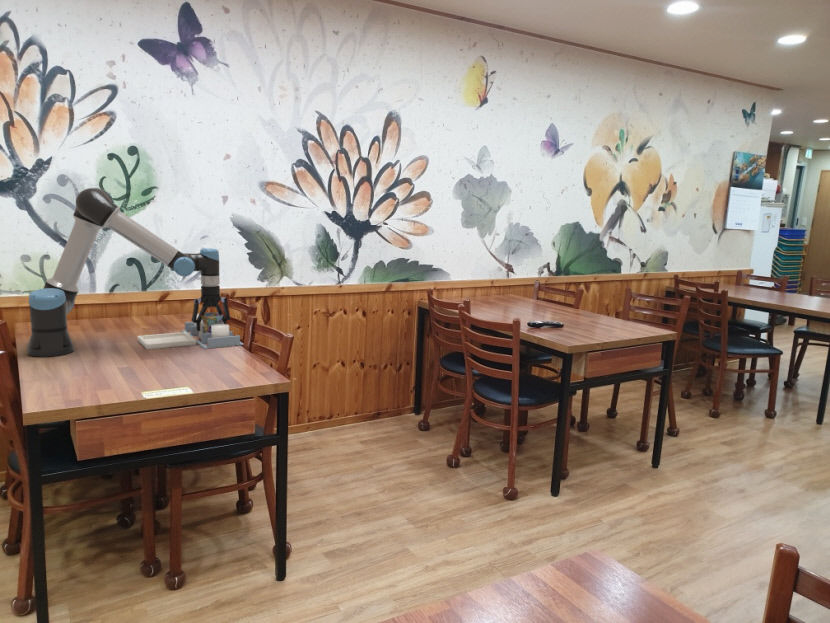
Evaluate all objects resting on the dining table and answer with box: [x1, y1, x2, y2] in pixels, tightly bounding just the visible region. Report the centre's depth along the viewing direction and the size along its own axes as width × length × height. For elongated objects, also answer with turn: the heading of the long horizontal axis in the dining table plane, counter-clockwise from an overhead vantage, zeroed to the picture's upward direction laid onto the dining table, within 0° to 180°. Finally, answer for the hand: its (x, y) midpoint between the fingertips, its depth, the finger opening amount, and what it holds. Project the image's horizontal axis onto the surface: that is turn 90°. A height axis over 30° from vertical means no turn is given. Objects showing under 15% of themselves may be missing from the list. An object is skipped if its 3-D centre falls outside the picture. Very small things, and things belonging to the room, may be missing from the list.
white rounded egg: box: [211, 323, 230, 338], centre depth 252 cm, size 7×7×8 cm
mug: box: [201, 312, 224, 334], centre depth 262 cm, size 12×9×11 cm
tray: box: [137, 331, 197, 351], centre depth 251 cm, size 19×17×2 cm
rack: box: [181, 321, 244, 350], centre depth 263 cm, size 16×35×4 cm, turn 35°
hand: (211, 337), depth 263 cm, fingers closed on mug, 8 cm apart
